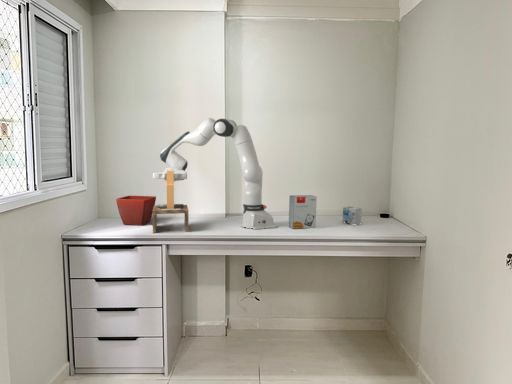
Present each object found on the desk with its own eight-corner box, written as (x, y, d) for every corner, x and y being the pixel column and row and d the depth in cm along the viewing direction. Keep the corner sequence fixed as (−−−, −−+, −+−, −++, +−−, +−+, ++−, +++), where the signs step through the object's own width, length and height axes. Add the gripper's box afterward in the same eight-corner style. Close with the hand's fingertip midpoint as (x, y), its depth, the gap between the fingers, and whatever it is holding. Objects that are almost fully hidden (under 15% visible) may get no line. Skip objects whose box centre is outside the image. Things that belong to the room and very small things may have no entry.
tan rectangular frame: (187, 225, 236) (186, 201, 234) (188, 231, 216) (188, 206, 215) (154, 226, 231) (153, 202, 230) (152, 233, 212) (152, 207, 210)
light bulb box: (342, 222, 249) (342, 206, 248) (348, 221, 253) (349, 206, 252) (355, 225, 241) (355, 209, 240) (361, 224, 245) (362, 208, 244)
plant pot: (157, 221, 248) (156, 195, 246) (145, 226, 229) (145, 199, 227) (129, 220, 250) (128, 195, 248) (116, 225, 231) (115, 199, 229)
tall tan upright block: (173, 205, 229) (173, 170, 226) (173, 208, 217) (173, 171, 215) (167, 205, 228) (166, 169, 225) (166, 209, 216) (166, 171, 214)
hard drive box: (292, 229, 227) (293, 196, 225) (288, 226, 235) (288, 195, 232) (316, 228, 231) (316, 196, 229) (311, 225, 239) (311, 194, 236)
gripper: (152, 169, 230) (151, 171, 217) (186, 169, 235) (187, 171, 221) (153, 180, 231) (151, 181, 217) (186, 179, 235) (187, 181, 222)
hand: (170, 176), depth 219 cm, fingers closed on tall tan upright block, 4 cm apart
